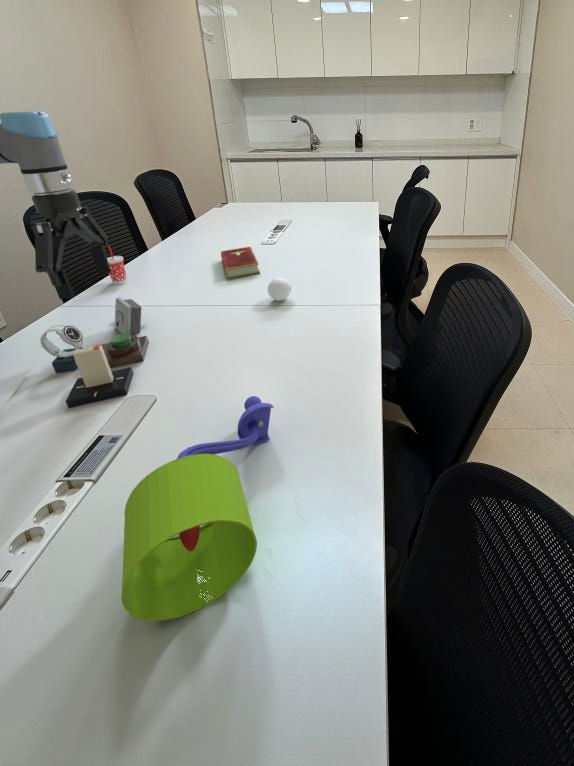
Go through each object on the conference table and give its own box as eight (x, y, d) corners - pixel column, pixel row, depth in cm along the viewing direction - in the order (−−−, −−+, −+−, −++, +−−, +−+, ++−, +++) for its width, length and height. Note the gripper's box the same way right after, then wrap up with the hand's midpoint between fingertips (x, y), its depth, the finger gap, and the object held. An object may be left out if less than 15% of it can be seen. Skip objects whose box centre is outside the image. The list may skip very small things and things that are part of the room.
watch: (84, 369, 94) (69, 331, 90) (47, 374, 93) (30, 335, 89) (95, 356, 99) (81, 319, 95) (60, 360, 98) (44, 323, 94)
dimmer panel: (67, 410, 82) (64, 402, 81) (80, 383, 90) (77, 376, 89) (126, 397, 85) (123, 389, 84) (134, 372, 93) (131, 364, 92)
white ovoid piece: (293, 302, 123) (291, 281, 120) (269, 306, 121) (266, 285, 118) (290, 289, 132) (287, 269, 129) (267, 292, 130) (265, 272, 127)
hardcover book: (226, 279, 141) (224, 269, 139) (222, 260, 158) (220, 250, 157) (260, 273, 145) (258, 263, 143) (252, 255, 163) (250, 245, 161)
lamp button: (112, 349, 96) (110, 343, 95) (115, 341, 99) (113, 335, 98) (130, 346, 97) (128, 340, 96) (133, 337, 100) (131, 332, 100)
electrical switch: (114, 328, 112) (108, 298, 109) (134, 322, 116) (129, 293, 112) (126, 339, 106) (120, 309, 103) (147, 333, 110) (141, 303, 107)
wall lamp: (127, 382, 64) (121, 548, 40) (264, 366, 76) (322, 486, 52) (127, 453, 69) (121, 641, 45) (257, 427, 81) (307, 565, 56)
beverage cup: (109, 281, 142) (97, 245, 136) (127, 276, 145) (117, 241, 140) (112, 286, 138) (100, 250, 132) (131, 281, 141) (120, 245, 136)
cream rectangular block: (86, 387, 85) (72, 353, 81) (88, 383, 86) (74, 349, 83) (112, 382, 87) (99, 348, 83) (113, 377, 88) (101, 344, 84)
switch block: (88, 372, 93) (82, 359, 92) (97, 352, 101) (93, 339, 99) (143, 361, 97) (139, 348, 95) (149, 342, 105) (145, 329, 103)
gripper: (25, 205, 69) (67, 310, 77) (106, 179, 92) (132, 262, 100) (-19, 207, 69) (29, 312, 77) (74, 181, 91) (103, 264, 100)
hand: (87, 284), depth 89 cm, fingers open, 13 cm apart
